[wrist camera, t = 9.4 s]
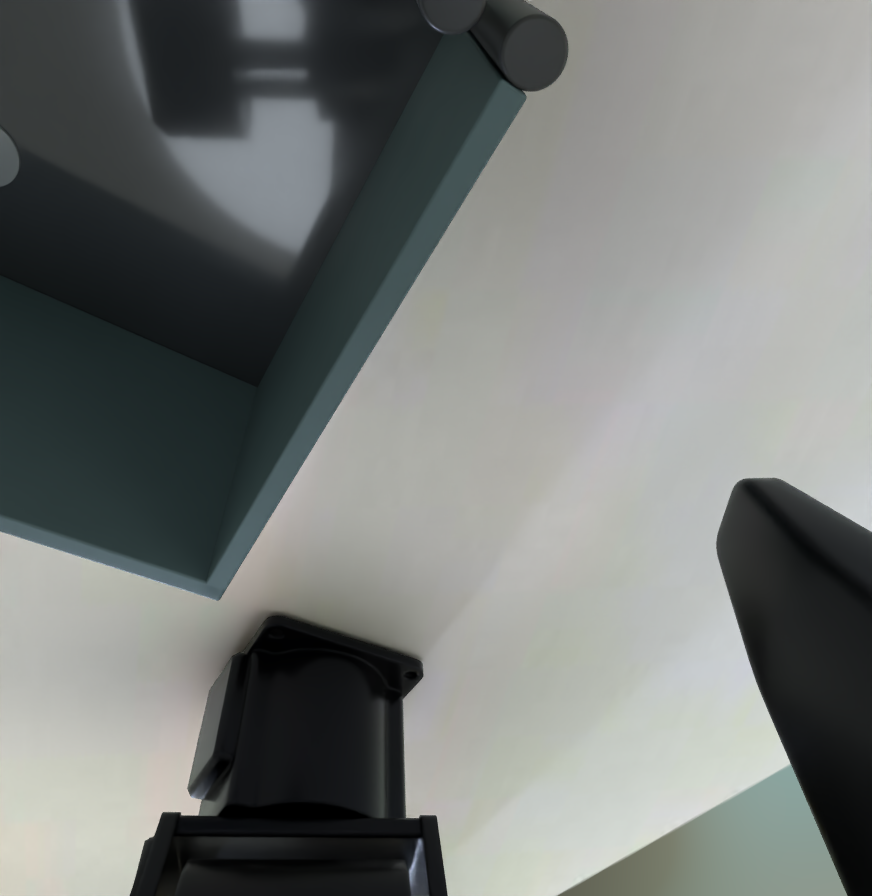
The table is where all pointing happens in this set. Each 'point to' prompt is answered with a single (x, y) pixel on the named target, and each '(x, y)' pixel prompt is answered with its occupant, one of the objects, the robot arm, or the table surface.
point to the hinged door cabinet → (287, 377)
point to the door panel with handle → (452, 14)
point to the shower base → (194, 156)
